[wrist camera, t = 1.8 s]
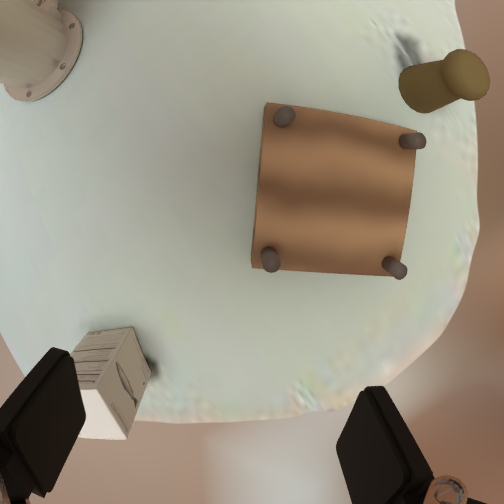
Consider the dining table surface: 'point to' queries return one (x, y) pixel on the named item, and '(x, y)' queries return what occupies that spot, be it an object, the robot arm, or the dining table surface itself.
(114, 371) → the supplement box
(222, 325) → the dining table surface
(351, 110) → the dining table surface
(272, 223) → the shelf board
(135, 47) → the dining table surface
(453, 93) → the brown rounded piece
